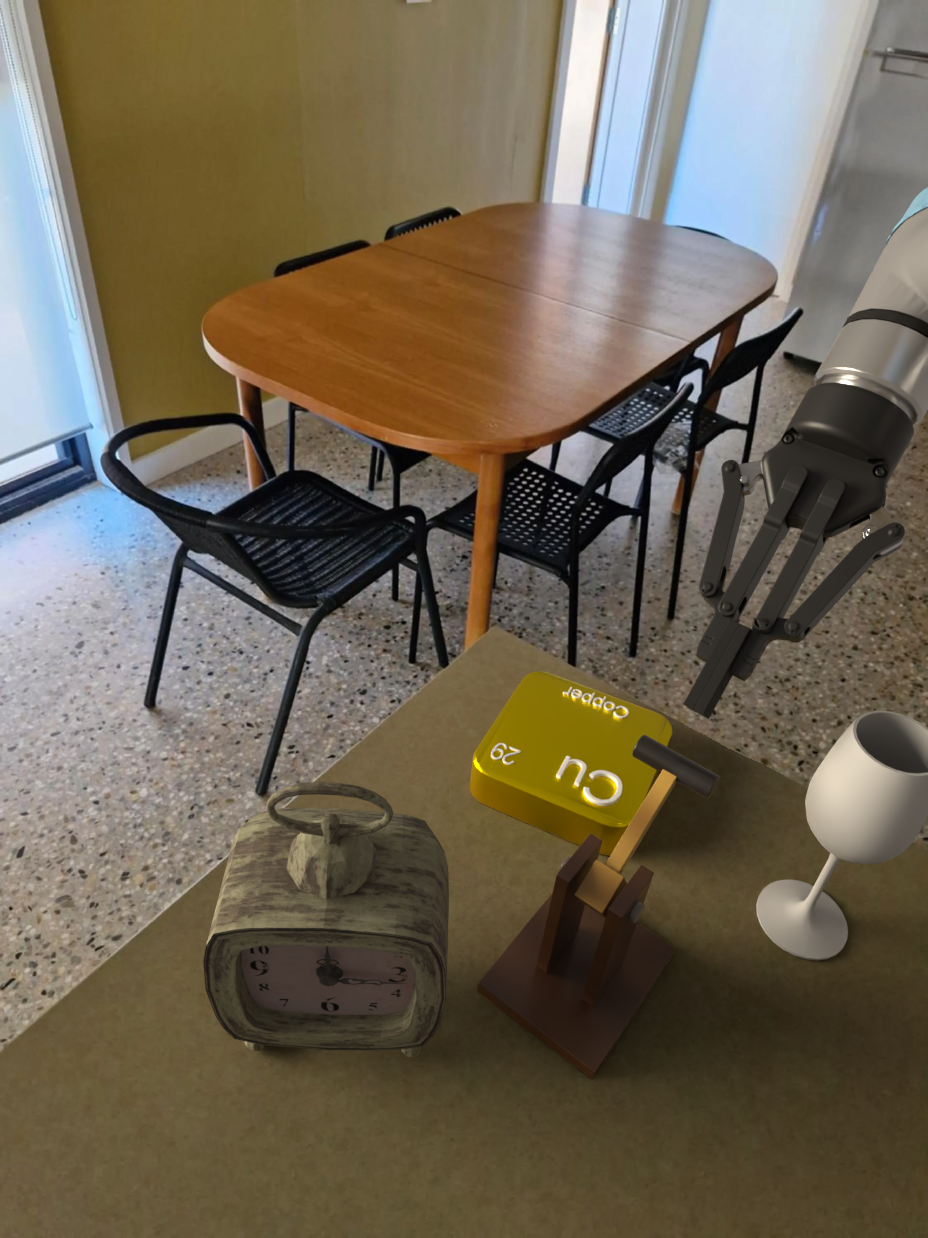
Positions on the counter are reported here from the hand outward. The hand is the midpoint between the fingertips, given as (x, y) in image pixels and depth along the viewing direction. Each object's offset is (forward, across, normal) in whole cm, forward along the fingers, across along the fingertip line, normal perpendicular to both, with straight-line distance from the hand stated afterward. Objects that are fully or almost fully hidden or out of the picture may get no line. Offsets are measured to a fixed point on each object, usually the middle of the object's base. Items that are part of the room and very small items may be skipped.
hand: (696, 711), depth 60 cm
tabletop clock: (+31, +12, +2) cm, 33 cm away
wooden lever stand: (+21, 0, -8) cm, 23 cm away
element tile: (+10, +11, -20) cm, 25 cm away
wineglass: (+10, -12, -19) cm, 25 cm away
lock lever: (+9, 0, -2) cm, 10 cm away
